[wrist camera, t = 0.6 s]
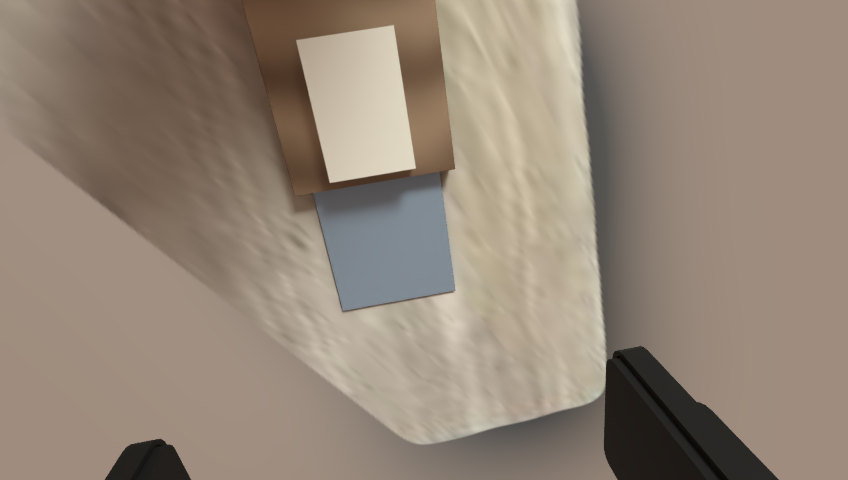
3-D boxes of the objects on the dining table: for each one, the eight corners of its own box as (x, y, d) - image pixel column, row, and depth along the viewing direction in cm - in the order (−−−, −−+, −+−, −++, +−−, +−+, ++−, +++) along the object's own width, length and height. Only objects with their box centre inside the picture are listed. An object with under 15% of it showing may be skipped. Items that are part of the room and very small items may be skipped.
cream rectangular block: (301, 41, 28) (296, 40, 26) (392, 27, 28) (393, 25, 26) (332, 176, 31) (329, 183, 30) (413, 162, 32) (415, 168, 30)
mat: (312, 189, 34) (312, 190, 33) (438, 168, 34) (439, 168, 34) (343, 309, 38) (342, 310, 38) (454, 288, 38) (455, 290, 38)
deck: (235, -53, 27) (225, -61, 26) (421, -79, 28) (424, -90, 26) (299, 188, 34) (294, 196, 32) (450, 163, 34) (455, 169, 32)
